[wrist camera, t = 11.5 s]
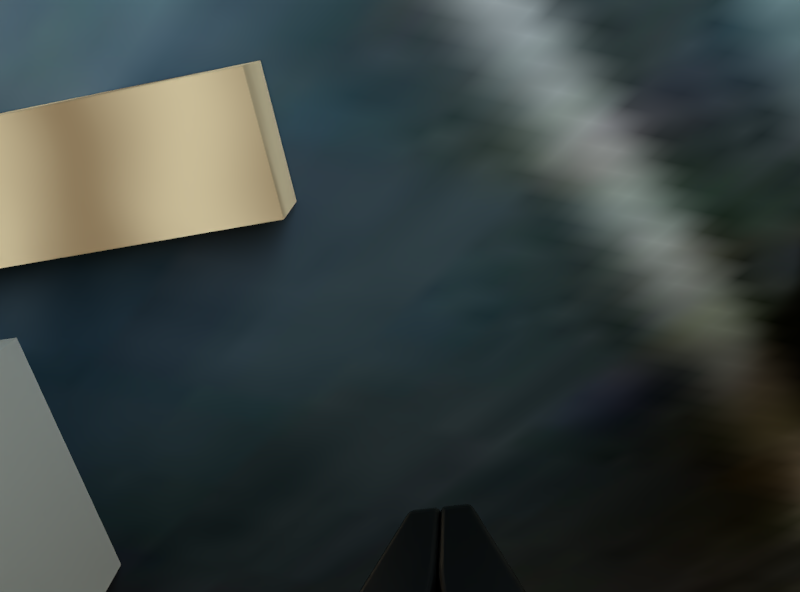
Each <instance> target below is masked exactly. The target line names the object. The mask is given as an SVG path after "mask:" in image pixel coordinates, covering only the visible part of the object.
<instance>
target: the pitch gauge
mask: <svg viewBox="0 0 800 592" xmlns="http://www.w3.org/2000/svg"><path fill="white" fill-rule="evenodd" d="M296 202H297V201H296V197H295V193H294V189H293V186H292V182H291V178H290V174H289V170H288V166H287V162H286V158H285V154H284V151H283V147H282V143H281V139H280V135H279V131H278V127H277V123H276V119H275V116H274V112H273V108H272V104H271V100H270V96H269V92H268V88H267V84H266V81H265V77H264V73H263V69H262V65H261V61H255V62H250V63H245V64H240V65H235V66H230V67H225V68H221V69H216V70H211V71H206V72H201V73H196V74H191V75H186V76H181V77H176V78H171V79H166V80H162V81H157V82H152V83H147V84H142V85H137V86H132V87H127V88H122V89H117V90H112V91H107V92H103V93H98V94H93V95H88V96H83V97H78V98H73V99H68V100H63V101H58V102H53V103H48V104H44V105H39V106H34V107H29V108H24V109H19V110H14V111H9V112H4V113H0V268H5V267H11V266H17V265H23V264H28V263H34V262H40V261H46V260H51V259H57V258H63V257H69V256H75V255H80V254H86V253H92V252H98V251H104V250H109V249H115V248H121V247H127V246H133V245H138V244H144V243H150V242H156V241H161V240H167V239H173V238H179V237H185V236H190V235H196V234H202V233H208V232H214V231H219V230H225V229H231V228H237V227H243V226H248V225H254V224H260V223H266V222H272V221H277V220H283V219H284V218H285V217H286V216H287V214H288V213H289V211H290V210H291V209H292V207H293V206H294V204H295V203H296Z"/></svg>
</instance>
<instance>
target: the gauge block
mask: <svg viewBox="0 0 800 592" xmlns="http://www.w3.org/2000/svg"><path fill="white" fill-rule="evenodd" d="M120 566H121V563H120V561H119V559H118V557H117V555H116V553H115V550H114V548H113V546H112V544H111V542H110V540H109V537H108V535H107V533H106V531H105V529H104V527H103V524H102V522H101V520H100V518H99V516H98V514H97V511H96V509H95V507H94V505H93V503H92V500H91V498H90V496H89V494H88V492H87V490H86V487H85V485H84V483H83V481H82V479H81V477H80V474H79V472H78V470H77V468H76V466H75V464H74V461H73V459H72V457H71V455H70V453H69V451H68V448H67V446H66V444H65V442H64V440H63V438H62V435H61V433H60V431H59V429H58V427H57V425H56V422H55V420H54V418H53V416H52V414H51V411H50V409H49V407H48V405H47V403H46V401H45V398H44V396H43V394H42V392H41V390H40V388H39V385H38V383H37V381H36V379H35V377H34V375H33V372H32V370H31V368H30V366H29V364H28V362H27V359H26V357H25V355H24V353H23V351H22V349H21V346H20V344H19V342H18V340H17V338H11V339H4V340H0V592H106V590H107V589H108V587H109V585H110V583H111V582H112V580H113V578H114V576H115V575H116V573H117V571H118V569H119V568H120Z"/></svg>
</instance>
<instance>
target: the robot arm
mask: <svg viewBox="0 0 800 592" xmlns="http://www.w3.org/2000/svg"><path fill="white" fill-rule="evenodd" d="M360 592H526V591H525V590H524V588H523V587H522V585H521V583H520V582H519V580H518V579H517V577H516V575H515V574H514V572H513V571H512V569H511V567H510V566H509V564H508V563H507V561H506V559H505V558H504V556H503V555H502V553H501V551H500V550H499V548H498V547H497V545H496V543H495V542H494V540H493V538H492V537H491V535H490V534H489V532H488V530H487V529H486V527H485V526H484V524H483V522H482V521H481V519H480V518H479V516H478V514H477V513H476V511H475V510H474V508H473V507H472V506H471V505H469V504H462V505H454V506H446V507H443V508H442V510H441V512H440V510H439V509H437V508H428V509H420V510H413V511H411V512H409V513H408V514H407V516H406V518H405V519H404V521H403V522H402V524H401V526H400V527H399V529H398V530H397V532H396V534H395V535H394V537H393V538H392V540H391V542H390V543H389V545H388V546H387V548H386V550H385V551H384V553H383V555H382V556H381V558H380V559H379V561H378V563H377V564H376V566H375V567H374V569H373V571H372V572H371V574H370V575H369V577H368V579H367V580H366V582H365V584H364V585H363V587H362V588H361V590H360Z"/></svg>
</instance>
